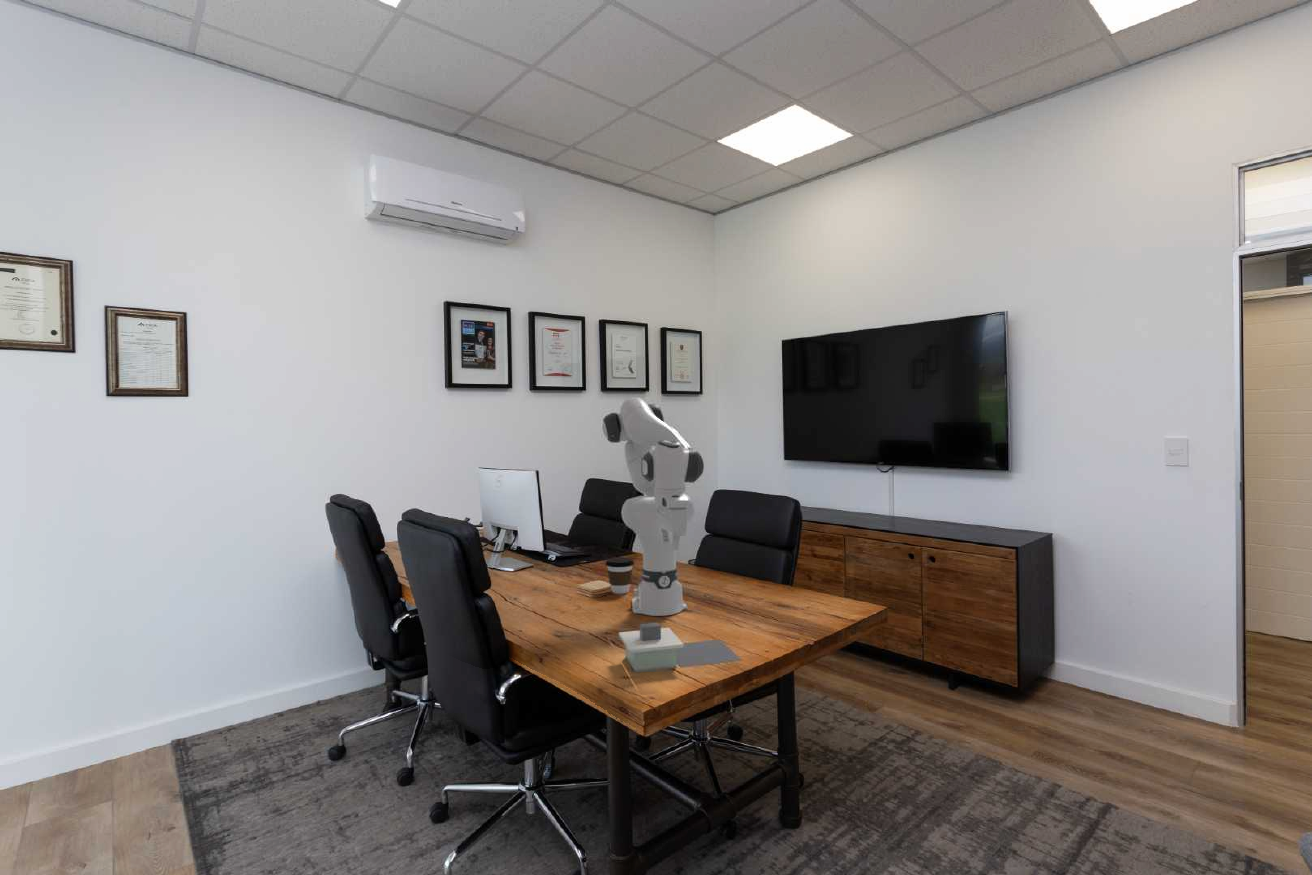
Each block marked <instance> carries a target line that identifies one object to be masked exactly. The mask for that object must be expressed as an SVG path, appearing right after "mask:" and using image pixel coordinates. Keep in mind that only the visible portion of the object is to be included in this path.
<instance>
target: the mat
mask: <svg viewBox="0 0 1312 875" xmlns="http://www.w3.org/2000/svg"><path fill="white" fill-rule="evenodd" d="M682 643H683V642H682ZM683 644H684V647H682V648H676V662H677V666H679V668H686V667H687V668H688V667H696V666H697V667H698V666H705V665H715V664H721V663H730V662H738V661H740V662H741V661H743V659H742V658H741V657H739V655H737V654H736V653H735V652H734V651H733V650H732V649H731V648H729V647H728V645H726V643H724V642H723V641H722V640H721V639H711V640H704V641H703V640H702V641H692V642H685V643H683Z"/></svg>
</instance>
